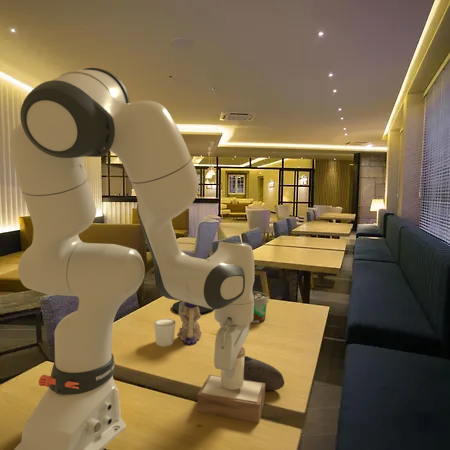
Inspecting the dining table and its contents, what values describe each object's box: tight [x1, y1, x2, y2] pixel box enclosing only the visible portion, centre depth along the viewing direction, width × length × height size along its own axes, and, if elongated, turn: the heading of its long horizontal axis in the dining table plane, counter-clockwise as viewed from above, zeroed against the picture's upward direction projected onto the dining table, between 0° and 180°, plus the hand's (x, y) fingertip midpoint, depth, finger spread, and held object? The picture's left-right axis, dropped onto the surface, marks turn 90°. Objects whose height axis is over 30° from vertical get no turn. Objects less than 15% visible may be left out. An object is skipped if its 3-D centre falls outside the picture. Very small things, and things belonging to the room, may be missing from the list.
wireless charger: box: [172, 300, 215, 316], centre depth 148 cm, size 18×18×2 cm
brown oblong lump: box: [244, 355, 285, 391], centre depth 89 cm, size 15×5×7 cm, turn 64°
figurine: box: [176, 301, 203, 341], centre depth 118 cm, size 9×8×20 cm
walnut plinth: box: [196, 374, 266, 423], centre depth 81 cm, size 9×14×4 cm, turn 76°
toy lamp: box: [183, 302, 198, 346], centre depth 114 cm, size 5×5×17 cm
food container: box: [250, 290, 269, 324], centre depth 135 cm, size 12×6×10 cm, turn 171°
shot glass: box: [153, 318, 176, 347], centre depth 114 cm, size 7×7×7 cm
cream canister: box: [220, 346, 246, 389], centre depth 80 cm, size 5×5×8 cm
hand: (232, 369), depth 80 cm, fingers closed on cream canister, 5 cm apart
